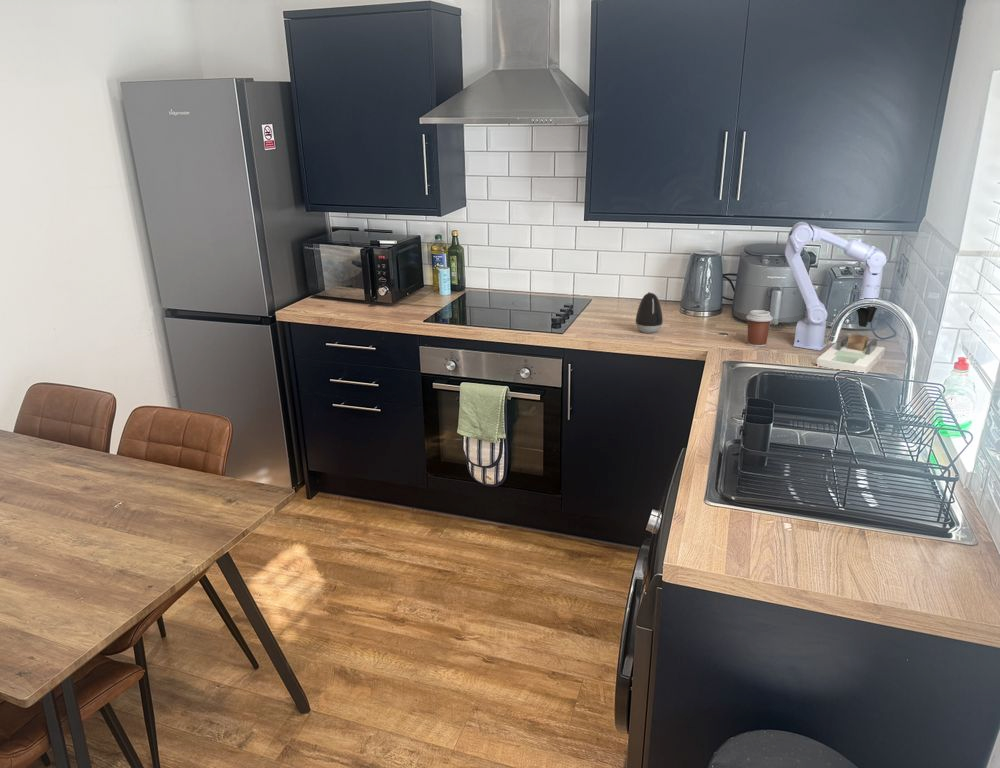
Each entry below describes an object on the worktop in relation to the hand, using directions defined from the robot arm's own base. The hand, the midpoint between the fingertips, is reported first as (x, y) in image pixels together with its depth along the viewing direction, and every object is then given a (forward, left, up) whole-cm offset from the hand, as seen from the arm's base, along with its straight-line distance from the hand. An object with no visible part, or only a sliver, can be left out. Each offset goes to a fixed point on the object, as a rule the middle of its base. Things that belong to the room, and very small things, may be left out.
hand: (865, 324), depth 254 cm
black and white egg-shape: (-72, -19, -10) cm, 75 cm away
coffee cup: (-32, -13, -10) cm, 36 cm away
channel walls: (0, -8, -7) cm, 11 cm away
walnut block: (0, -7, -7) cm, 10 cm away
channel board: (0, -14, -9) cm, 17 cm away
